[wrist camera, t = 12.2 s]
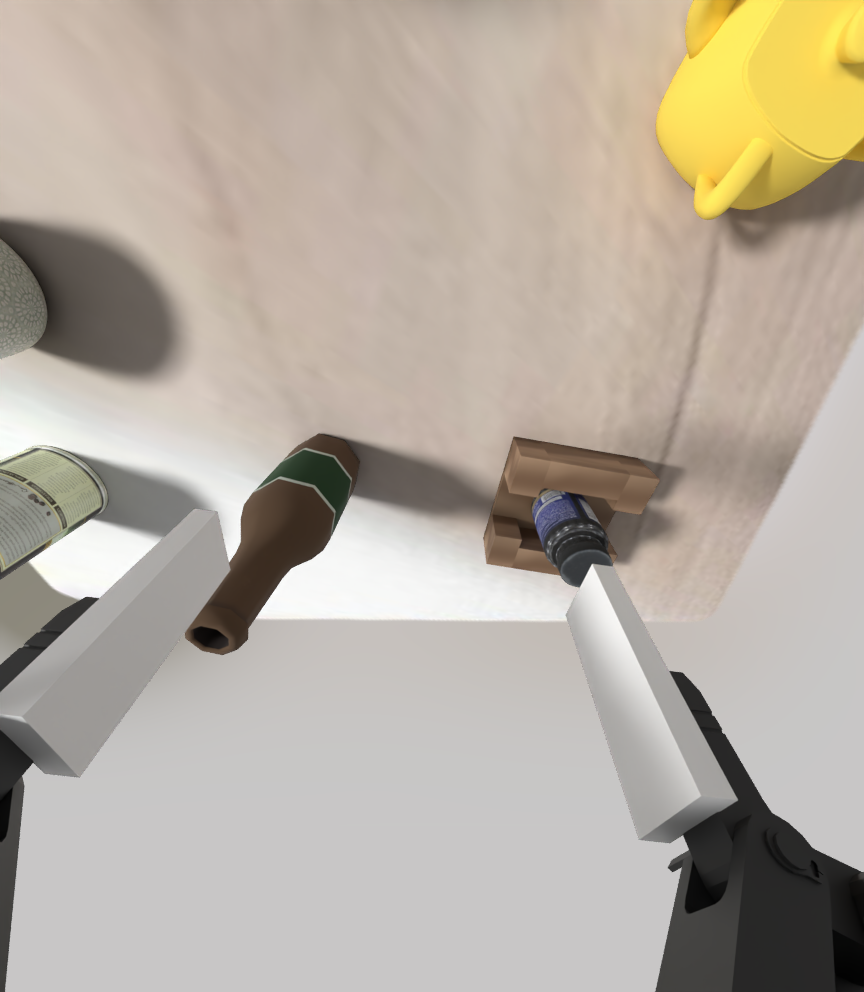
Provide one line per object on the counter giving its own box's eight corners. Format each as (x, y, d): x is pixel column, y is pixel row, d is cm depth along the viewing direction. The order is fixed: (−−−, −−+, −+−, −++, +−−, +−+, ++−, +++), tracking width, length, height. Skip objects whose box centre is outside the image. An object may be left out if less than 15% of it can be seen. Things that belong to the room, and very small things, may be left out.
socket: (513, 436, 39) (521, 456, 35) (637, 458, 40) (660, 480, 35) (483, 537, 46) (486, 563, 42) (588, 554, 47) (602, 582, 43)
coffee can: (103, 529, 49) (-12, 611, 37) (18, 490, 46) (-136, 565, 34) (115, 474, 44) (-11, 548, 32) (22, 428, 42) (-154, 489, 30)
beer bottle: (375, 458, 41) (297, 636, 21) (340, 502, 45) (245, 693, 24) (315, 417, 39) (163, 570, 19) (284, 467, 43) (126, 643, 22)
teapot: (624, 243, 30) (695, 230, 21) (629, 12, 24) (734, -144, 15) (813, 191, 28) (980, 151, 19) (874, -81, 21) (1168, -329, 13)
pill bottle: (525, 523, 44) (545, 590, 35) (535, 479, 41) (559, 540, 31) (576, 527, 44) (609, 595, 34) (590, 483, 41) (631, 545, 31)
